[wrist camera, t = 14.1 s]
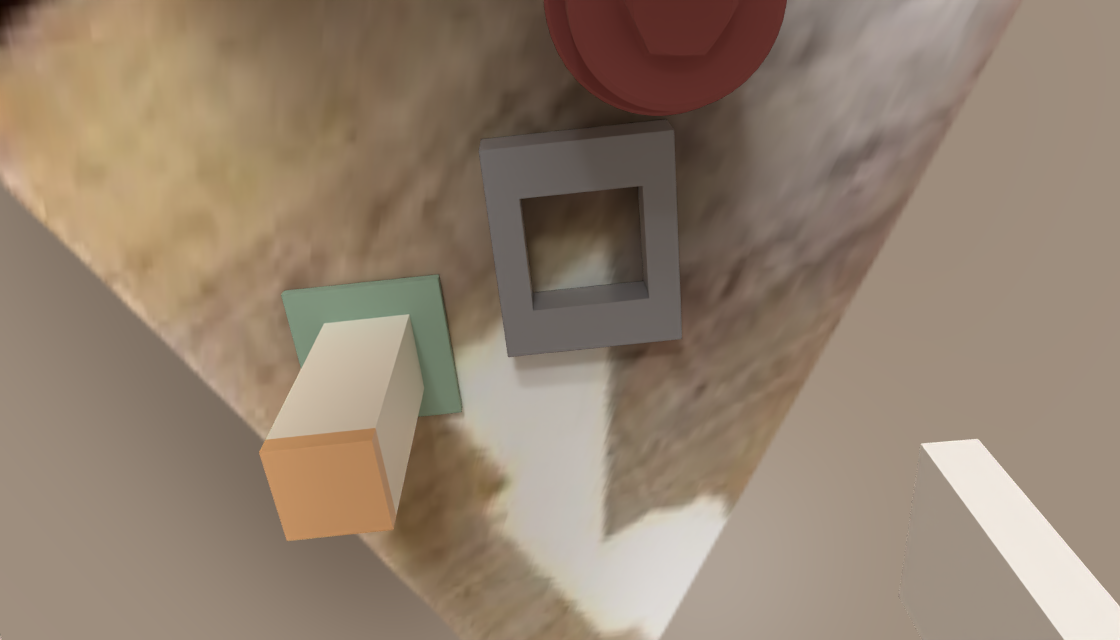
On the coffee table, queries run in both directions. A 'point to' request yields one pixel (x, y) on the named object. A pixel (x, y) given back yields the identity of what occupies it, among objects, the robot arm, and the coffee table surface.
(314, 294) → the mat
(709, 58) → the mechanical component
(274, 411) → the coffee table surface
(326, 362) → the plug
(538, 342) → the grey square frame
